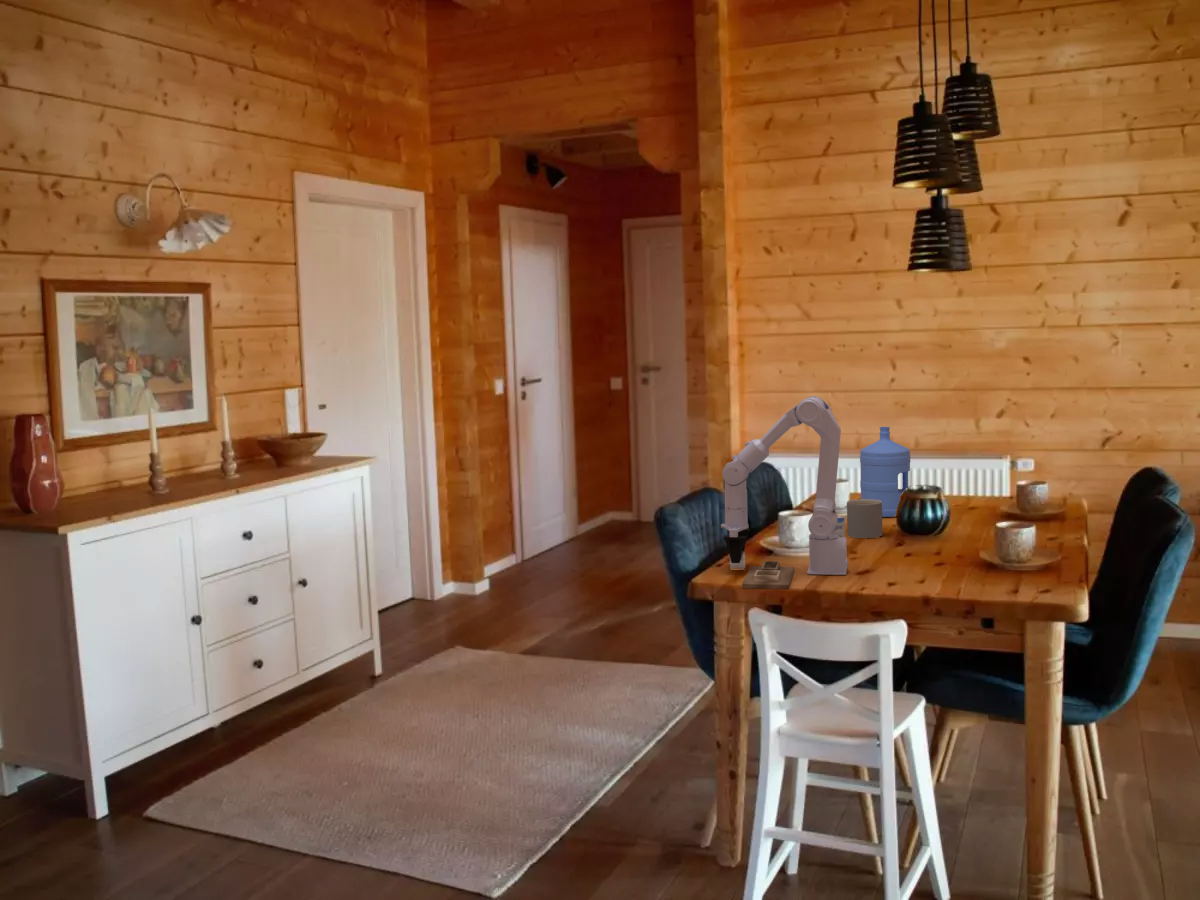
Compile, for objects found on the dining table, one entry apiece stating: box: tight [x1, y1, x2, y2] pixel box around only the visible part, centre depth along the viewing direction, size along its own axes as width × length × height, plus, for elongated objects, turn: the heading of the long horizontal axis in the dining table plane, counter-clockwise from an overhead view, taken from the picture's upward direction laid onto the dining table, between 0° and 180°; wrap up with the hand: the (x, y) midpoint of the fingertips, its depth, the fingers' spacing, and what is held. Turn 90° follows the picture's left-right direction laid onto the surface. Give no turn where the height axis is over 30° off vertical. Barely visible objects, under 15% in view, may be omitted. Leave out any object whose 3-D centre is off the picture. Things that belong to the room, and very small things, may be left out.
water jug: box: [859, 426, 911, 517], centre depth 364 cm, size 16×16×28 cm
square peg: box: [729, 550, 746, 571], centre depth 294 cm, size 4×4×4 cm
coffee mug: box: [846, 498, 883, 539], centre depth 332 cm, size 13×10×10 cm
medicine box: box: [834, 515, 846, 538], centre depth 315 cm, size 8×4×9 cm, turn 105°
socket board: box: [741, 560, 795, 590], centre depth 281 cm, size 11×20×2 cm, turn 167°
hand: (737, 559), depth 294 cm, fingers open, 7 cm apart
